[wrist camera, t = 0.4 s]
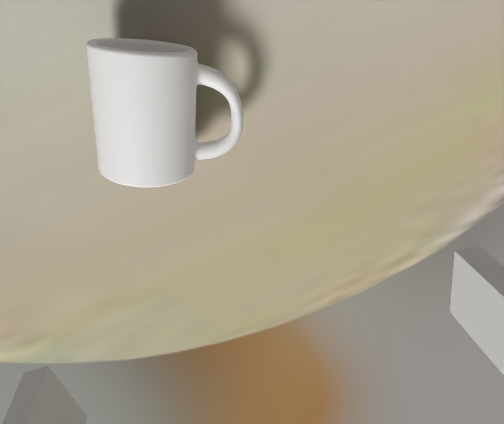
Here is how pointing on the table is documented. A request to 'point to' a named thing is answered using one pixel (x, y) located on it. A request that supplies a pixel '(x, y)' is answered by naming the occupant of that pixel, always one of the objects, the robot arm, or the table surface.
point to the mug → (152, 110)
